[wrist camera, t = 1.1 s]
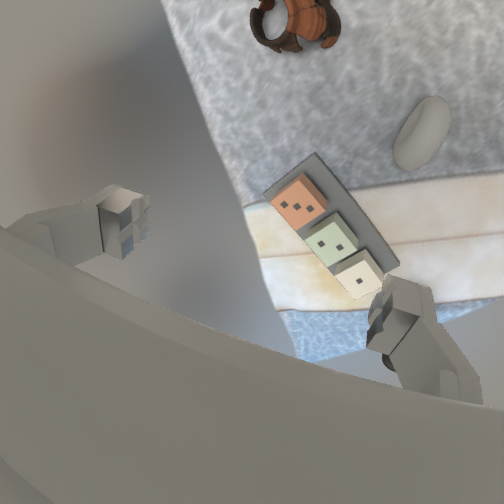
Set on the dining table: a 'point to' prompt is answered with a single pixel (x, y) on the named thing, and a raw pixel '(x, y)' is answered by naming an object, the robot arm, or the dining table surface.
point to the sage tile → (331, 240)
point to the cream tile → (359, 274)
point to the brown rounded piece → (299, 24)
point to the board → (339, 212)
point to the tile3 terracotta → (299, 202)
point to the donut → (422, 133)
